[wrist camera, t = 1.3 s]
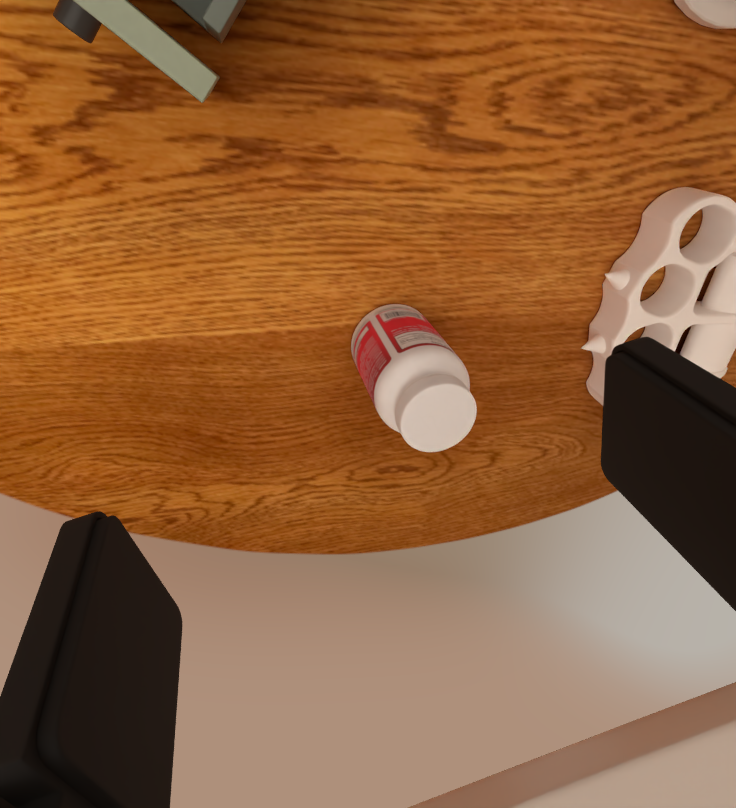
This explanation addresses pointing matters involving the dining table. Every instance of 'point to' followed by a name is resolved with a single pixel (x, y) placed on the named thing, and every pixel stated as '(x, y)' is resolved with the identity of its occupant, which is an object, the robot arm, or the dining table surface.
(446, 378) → the pill bottle
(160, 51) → the drawer
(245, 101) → the dining table surface
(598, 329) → the white brass knuckles
